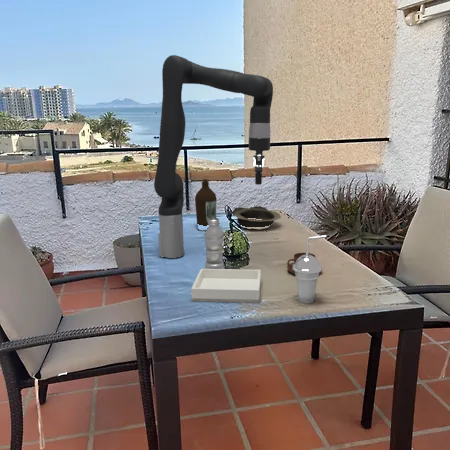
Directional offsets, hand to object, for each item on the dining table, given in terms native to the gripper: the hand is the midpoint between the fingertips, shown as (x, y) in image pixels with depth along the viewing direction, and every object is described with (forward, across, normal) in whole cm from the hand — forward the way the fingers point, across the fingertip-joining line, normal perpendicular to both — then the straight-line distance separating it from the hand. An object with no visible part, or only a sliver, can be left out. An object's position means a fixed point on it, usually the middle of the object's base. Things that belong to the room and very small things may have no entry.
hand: (258, 182), depth 154 cm
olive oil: (+32, -55, -26) cm, 68 cm away
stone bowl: (+31, -59, 0) cm, 67 cm away
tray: (+30, +28, -9) cm, 42 cm away
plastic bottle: (+31, +13, -14) cm, 37 cm away
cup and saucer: (+30, +9, +17) cm, 36 cm away
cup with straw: (+30, +34, +15) cm, 48 cm away
